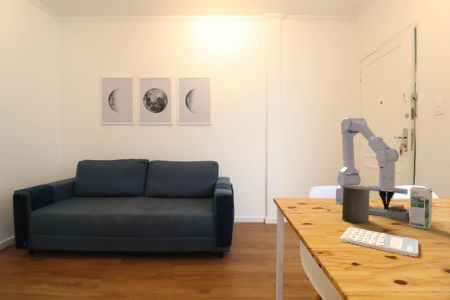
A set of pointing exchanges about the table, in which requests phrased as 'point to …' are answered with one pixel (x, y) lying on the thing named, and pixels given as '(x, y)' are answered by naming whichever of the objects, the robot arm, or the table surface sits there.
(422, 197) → the syrup box
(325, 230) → the table surface
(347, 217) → the pillar candle
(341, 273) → the table surface
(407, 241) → the calculator
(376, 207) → the rubber pad
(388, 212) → the rail
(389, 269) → the table surface
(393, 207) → the walnut block
